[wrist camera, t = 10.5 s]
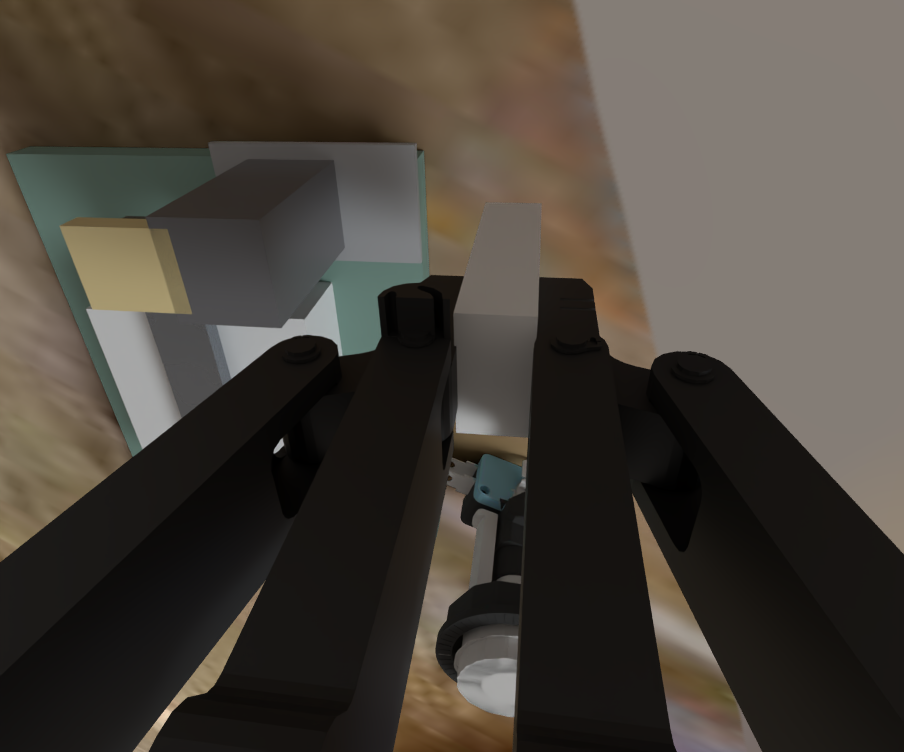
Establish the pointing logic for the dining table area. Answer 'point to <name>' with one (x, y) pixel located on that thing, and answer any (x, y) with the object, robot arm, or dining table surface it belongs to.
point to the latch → (218, 247)
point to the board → (182, 170)
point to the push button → (487, 586)
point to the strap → (189, 357)
